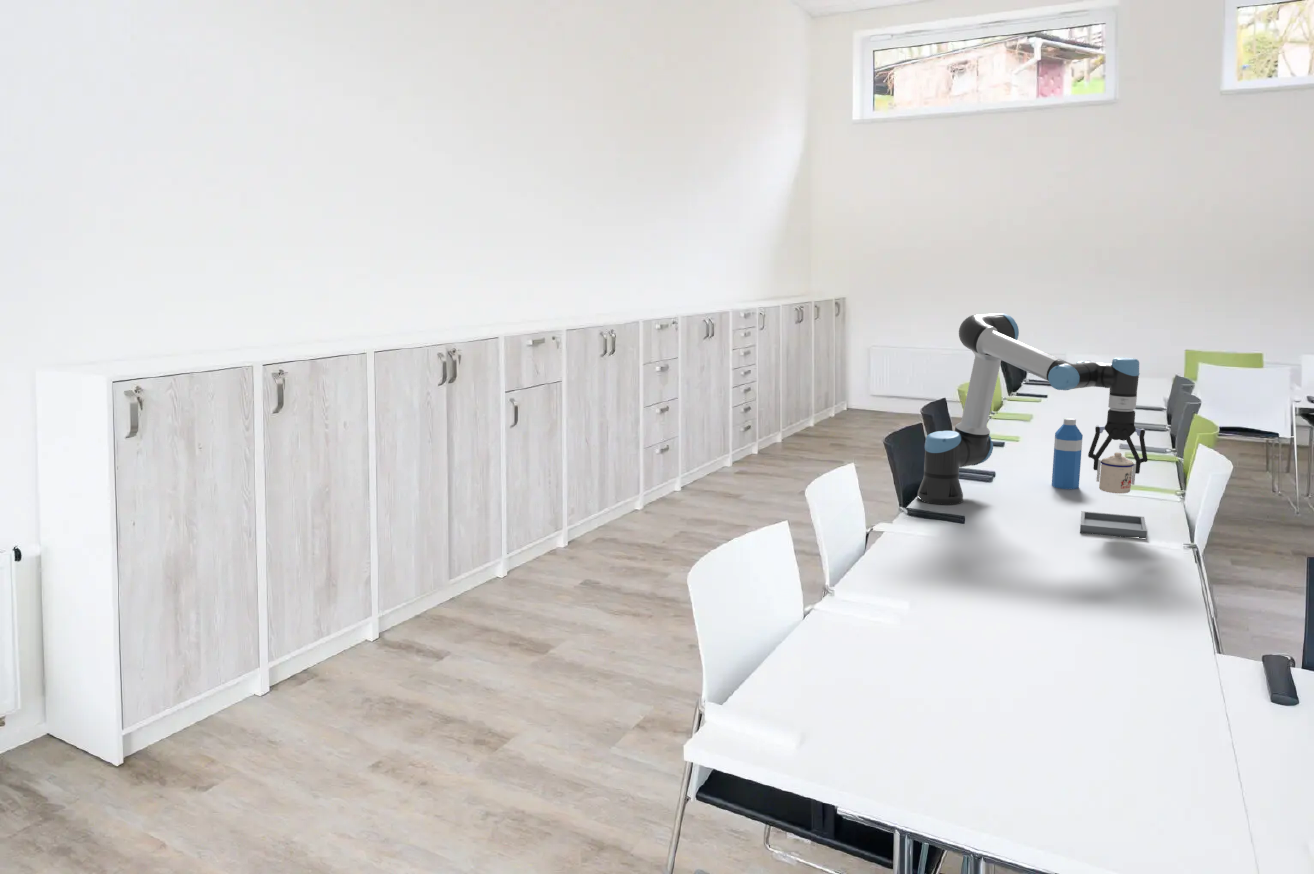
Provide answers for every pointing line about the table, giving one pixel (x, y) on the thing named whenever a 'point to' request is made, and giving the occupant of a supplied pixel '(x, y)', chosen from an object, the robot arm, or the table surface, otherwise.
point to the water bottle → (1067, 456)
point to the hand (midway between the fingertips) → (1115, 482)
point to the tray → (1112, 525)
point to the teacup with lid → (1116, 474)
